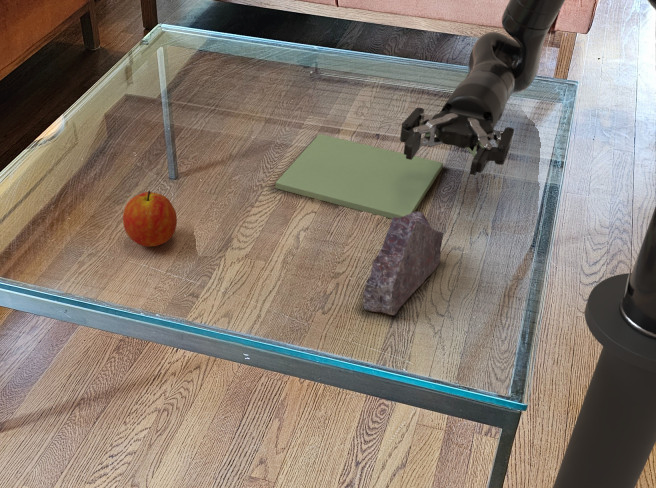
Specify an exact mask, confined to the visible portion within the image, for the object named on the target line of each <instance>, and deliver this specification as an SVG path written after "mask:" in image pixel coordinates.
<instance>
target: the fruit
mask: <svg viewBox="0 0 656 488" xmlns="http://www.w3.org/2000/svg"><path fill="white" fill-rule="evenodd" d="M177 218H178V217H177V211H176V209H175V207H174V206H173V204H172V202H171V200H169V198H168V197H167V196H165V195H163V194H161V193H157V192H153V191H152V192H151V190H148V191H145V192H141V193H139V194H137V195H135V196H134V197H132V198H131V199H129V201H128V202H127V203H126V205H125V207H124V209H123V213H122V224H123V229H124V231H125V233H126V235H127V236H128V237H129V239H130V240H131V241H133V242H134V243H136V244H138V245H139V246H143V247H147V248H149V247H157V246H160V245H163V244H165V243H166V242H168V241H169V240H170V239H171V238H172V237H173V235H174V234H175V231H176V228H177V224H178V219H177Z"/></svg>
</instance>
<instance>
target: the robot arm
mask: <svg viewBox="0 0 656 488" xmlns="http://www.w3.org/2000/svg"><path fill="white" fill-rule="evenodd" d="M565 2H566V0H509V1H508V3H507V5H506V7H505V8H504V10H503V13H502V17H501V25H502V28H503V29H504V31H505V32H506V33H507V34H508V35H509V36H510V37H509V36H507V35H505V34H503V33H501V32H498V31H490V32H486V33H484V34H483V35H481V36H480V37H479V38H478V39H477V40H476V42H475V43H474V45H473V47H472V48H471V51H470V54H469V59H468V67H467V69H468V70H467V71H468V74H467V75H466V77H465V78H464V79H463V80H461V82H460V83H459V84H458V85H457V86H456V88H455V89H454V90H453V92H452V93H451V95H449V98H448V99H447V100H446V102H445V104H443V106H442V108H441V110H440V112H438V113H436V114H434V115H433V116H432V115H429V114H424V113H425V109H424V108H423V107H416V108H415V109H414V110H413V111H412V112H411V113H410V114H409V115H408V116H407V117H406V119H404V121H402V123H401V127H400V129H401V130H400V136H399V141H400V142H401V143H404V147H403V154H404V155H406V159H410V160H412V158H413V157H414V156H416V154H417V153H418V151H419V150H420V149H421V147H424V146H428V147H429V148H432V147H435V146H439V145H447V146H454V147H457V148H460V149H464V150H465V149H467V150H468V152H469V153H470V155H471V156H472V157H473V158H472V160H471V164H470V169H469V175H470V176H471V175H472V176H476V175H477V173H479V174H481V173H483V172H484V169H485V168H486V166H487V165H488V164H489V163H490V162H494V164H496V165H497V166H498V165H499V166H501V165H504V164H505V162H506V160H507V156H508V155H509V152H510V149H511V146H512V141H513V137H514V132H515V129H514V128H513V127H511V126H508V127H505V128H504V129H503V130H496V129H495V127H496V125H498V122H499V121H500V120H501V119H502V116H503V115H504V111H505V109H506V105H507V103H508V102H509V99H510V98H511V96H512V94H513V93H514V94H516V93H521V92H523V91H525V90H527V89H528V88H529V87H530V86H531V85H532V84H533V82H534V81H535V79H536V77H537V74H538V71H539V68H540V64H541V63H540V62H541V59H542V53H543V52H542V51H543V47H544V44H545V40H546V38H547V35H548V33H549V30H550V29H551V27H552V25H553V23H554V22H555V20H556V18H557V16H558V14H559V12H560V11H561V9H562V8H563V6H564V4H565ZM647 2H648V3H649V4H650V6H651V7H652V8H653V9H654V10H655V11H656V0H647ZM423 134H424V136H423V137H422V135H423ZM492 140H493V141H494V143H495V144H496V146H493V144H492V143H491V142H490V141H492ZM628 273H629V275H630V273H631V276H630V279H629V276H628V279H627V284H626V289H625V292H624V295H623V297H622V299H621V302H620V305H619V311H620V314H621V316H622V318H623V319H624V321H625V322H626V323H627V324H628V325H629V326H630V327H631V328H633V329H634V330H635V331H637V332H639V333H640V334H642V335H644V336H646V337H649V338H651V339H654V340H656V206H655V207H654V210H653V213H652V215H651V218H650V220H649V224H648V226H647V229H646V232H645V234H644V237H643V240H642V243H641V245H640V247H639V252H638V254H637V256H636V260H635V263H634V265H633V268H632V270H631V272H628ZM628 281H629V282H628Z"/></svg>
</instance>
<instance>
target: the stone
mask: <svg viewBox="0 0 656 488" xmlns="http://www.w3.org/2000/svg"><path fill="white" fill-rule="evenodd" d="M443 238H444V232H442V231H438V230H435V228H433V227H432V225H431V224H430V223H429V221H428V218H427V217H426V215H425V214H424V212H421V211H415V212H412V213H410V214H408V215H405V216H403V217H393V219H391V221H390V225H389V227H388V230H387V232H386V235H385V237H384V240H383V243H382V246H381V248H380V250H379V252H378V254H377V255H376V256H375V258H374V259H373V261H372V263H371V270H370V275H369V277H368V279H367V280H366V281H365V285H364V286H365V287H364V291H363V295H362V296H363V301H362V302H363V308H364V310H366V311H368V312H373V313H383V314H385V315H389V316H395V315H397V313H398V311H399V310H400V309H401V307H402V306H403V305H404V304H405V303H406V302H407V300H408V299H409V298H410V297H411V296H412V295H413V294H414V293H415V292H416V290H417V289H419V287H421V285H422V284H424V282H425V281H426V279H427V278H429V276H431V275H432V274H433V273H434V272H435V270H436V269H437V268H438V267H439V265H440V263H441V252H442V251H441V249H442V245H443V244H442V243H443V242H442V241H443Z"/></svg>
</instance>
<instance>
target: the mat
mask: <svg viewBox="0 0 656 488" xmlns="http://www.w3.org/2000/svg"><path fill="white" fill-rule="evenodd" d="M443 166H444V162H442V161H438V160H433V159H429V158H424V157H421V156H416V155H415V156H414V157H413V158H412V160H410V159H406V155H404V152H398V151H395V150H391V149H385V148H382V147H378V146H373V145H368V144H363V143H360V142H356V141H351V140H349V139H343V138H339V137H335V136H331V135H326V134H321V133H319V134H318V135H317V136H316V137H315V138H314V139H313V140H312V142H310V144H309V145H308V146H307V147H306V148H305V149H304V150H303V152H302V153H301V154H300V155H299V156H298V157H297V158H296V160H294V161H293V162H292V164H291V165H290V166H289V167H288V168H287V169H286V171H285V172H283V174H282V175H281V176H280V177H279V178H278V179H277V180H276V181H275V189H277V190H280V191H285V192H288V193H292V194H296V195H300V196H303V197H307V198H310V199H315V200H319V201H322V202H326V203H330V204H334V205H338V206H341V207H345V208H349V209H353V210H355V211H359V212H360V211H361V212H364V213H367V214H368V213H369V214H372V215H375V216H379V217H383V218H387V219H391V220H392V219H393V217H403V216H405V215H408V214H410V213H412V212H416V211H417V209H418V207H419V206H420V204H421V202H422V201H423V199H424V198H425V196H426V194H427V193H428V191H429V190H430V189H431V187H432V186H433V184H434V182H435V180H436V179H437V177H438V176H439V175H440V173H441V171H442V169H443Z"/></svg>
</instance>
